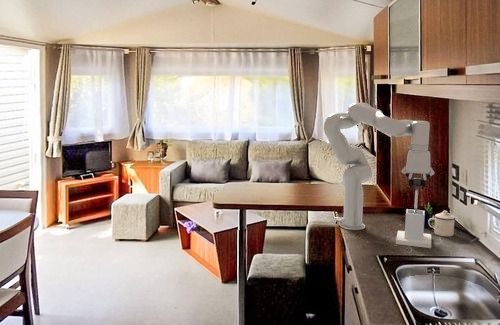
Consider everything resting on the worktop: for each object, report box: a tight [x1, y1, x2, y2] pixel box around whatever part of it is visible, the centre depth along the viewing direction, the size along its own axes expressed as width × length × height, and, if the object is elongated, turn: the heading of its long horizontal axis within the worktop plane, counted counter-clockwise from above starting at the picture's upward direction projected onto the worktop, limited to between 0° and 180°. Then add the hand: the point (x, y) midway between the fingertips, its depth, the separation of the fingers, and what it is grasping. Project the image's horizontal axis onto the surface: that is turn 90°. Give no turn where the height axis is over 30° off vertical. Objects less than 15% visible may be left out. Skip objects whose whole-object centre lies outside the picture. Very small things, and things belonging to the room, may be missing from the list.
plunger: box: [412, 177, 423, 214], centre depth 204 cm, size 6×6×18 cm
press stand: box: [395, 208, 432, 249], centre depth 206 cm, size 15×15×14 cm
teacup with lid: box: [427, 210, 456, 238], centre depth 218 cm, size 12×9×12 cm
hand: (416, 187), depth 204 cm, fingers closed on plunger, 4 cm apart
